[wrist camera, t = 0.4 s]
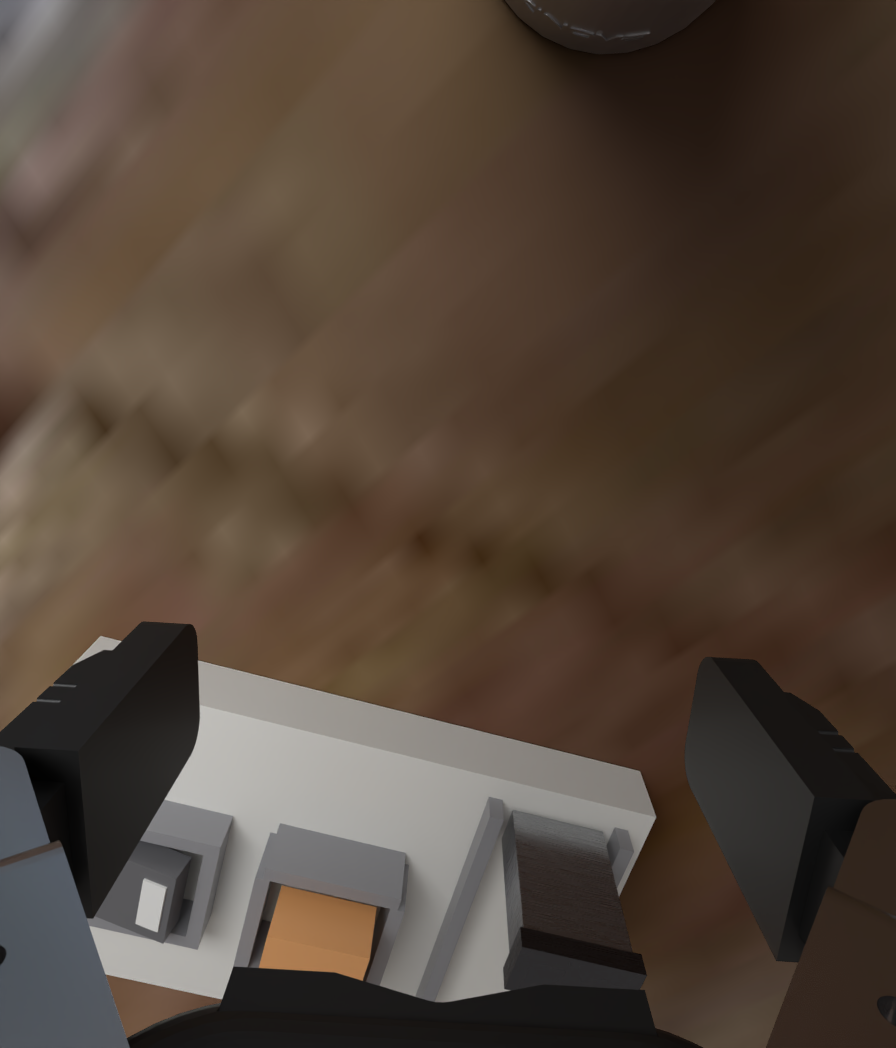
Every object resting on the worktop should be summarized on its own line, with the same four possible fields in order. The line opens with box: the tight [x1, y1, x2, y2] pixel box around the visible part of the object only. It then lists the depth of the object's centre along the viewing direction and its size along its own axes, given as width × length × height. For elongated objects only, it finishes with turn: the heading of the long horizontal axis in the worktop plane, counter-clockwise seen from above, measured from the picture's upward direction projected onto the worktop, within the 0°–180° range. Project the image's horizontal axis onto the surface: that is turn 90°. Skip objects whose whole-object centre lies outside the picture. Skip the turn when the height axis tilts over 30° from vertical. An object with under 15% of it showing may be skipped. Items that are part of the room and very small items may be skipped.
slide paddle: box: [502, 810, 647, 990], centre depth 28 cm, size 2×4×7 cm, turn 74°
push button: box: [259, 886, 377, 981], centre depth 30 cm, size 4×4×2 cm
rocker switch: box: [95, 841, 192, 944], centre depth 31 cm, size 4×5×1 cm
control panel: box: [73, 636, 656, 1002], centre depth 33 cm, size 16×25×6 cm, turn 74°
